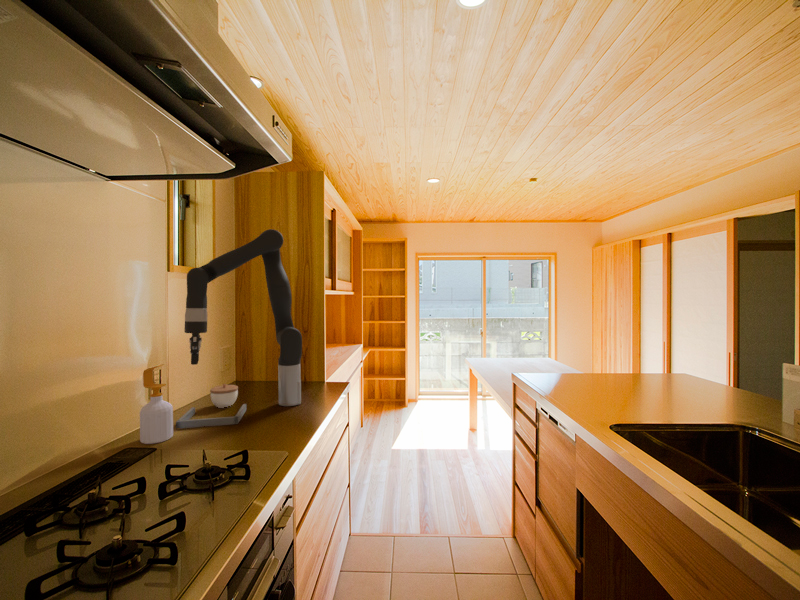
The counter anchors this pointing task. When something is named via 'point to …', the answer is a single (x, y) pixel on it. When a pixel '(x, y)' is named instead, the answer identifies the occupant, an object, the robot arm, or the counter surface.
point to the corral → (208, 419)
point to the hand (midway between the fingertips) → (194, 363)
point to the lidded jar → (224, 395)
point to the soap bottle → (155, 413)
